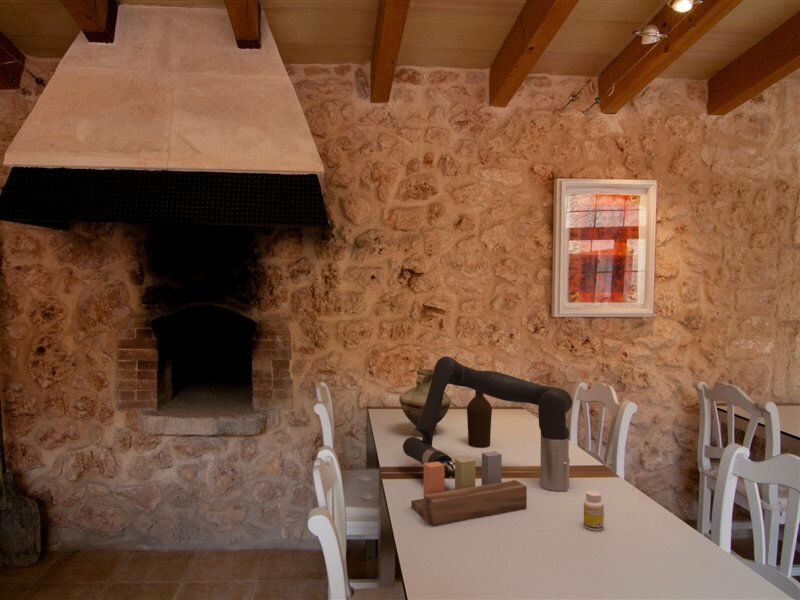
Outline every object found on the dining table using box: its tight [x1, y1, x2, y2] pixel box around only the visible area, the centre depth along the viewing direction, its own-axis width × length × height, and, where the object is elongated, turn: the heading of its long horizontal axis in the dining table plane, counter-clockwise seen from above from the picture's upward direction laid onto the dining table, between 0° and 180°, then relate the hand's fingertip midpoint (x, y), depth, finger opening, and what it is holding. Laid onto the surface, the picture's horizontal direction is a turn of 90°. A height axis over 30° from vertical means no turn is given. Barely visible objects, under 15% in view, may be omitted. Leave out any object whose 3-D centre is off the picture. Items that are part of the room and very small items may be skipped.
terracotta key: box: [423, 462, 445, 496], centre depth 168 cm, size 4×5×12 cm
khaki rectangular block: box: [454, 456, 476, 490], centre depth 172 cm, size 4×5×12 cm
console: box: [411, 479, 528, 527], centre depth 170 cm, size 15×32×7 cm, turn 113°
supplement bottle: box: [583, 490, 605, 531], centre depth 157 cm, size 5×5×10 cm
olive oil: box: [466, 390, 493, 449], centre depth 238 cm, size 11×11×25 cm
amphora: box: [398, 368, 451, 437], centre depth 256 cm, size 24×24×30 cm
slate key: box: [481, 450, 503, 485], centre depth 179 cm, size 4×5×12 cm
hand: (461, 477), depth 174 cm, fingers closed
